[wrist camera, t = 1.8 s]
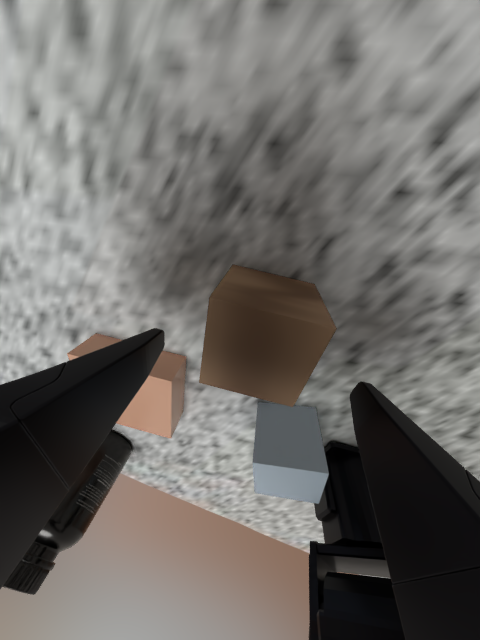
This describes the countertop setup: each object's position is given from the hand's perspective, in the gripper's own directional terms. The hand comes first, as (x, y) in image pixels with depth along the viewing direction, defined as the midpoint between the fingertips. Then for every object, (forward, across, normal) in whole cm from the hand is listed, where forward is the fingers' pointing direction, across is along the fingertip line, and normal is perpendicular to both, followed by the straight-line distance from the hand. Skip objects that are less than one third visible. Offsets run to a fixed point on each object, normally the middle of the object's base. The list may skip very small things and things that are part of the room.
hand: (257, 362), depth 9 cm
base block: (+5, +9, +10) cm, 14 cm away
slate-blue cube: (+5, -5, +11) cm, 13 cm away
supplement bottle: (+5, +15, +25) cm, 30 cm away
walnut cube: (+5, 0, 0) cm, 5 cm away
